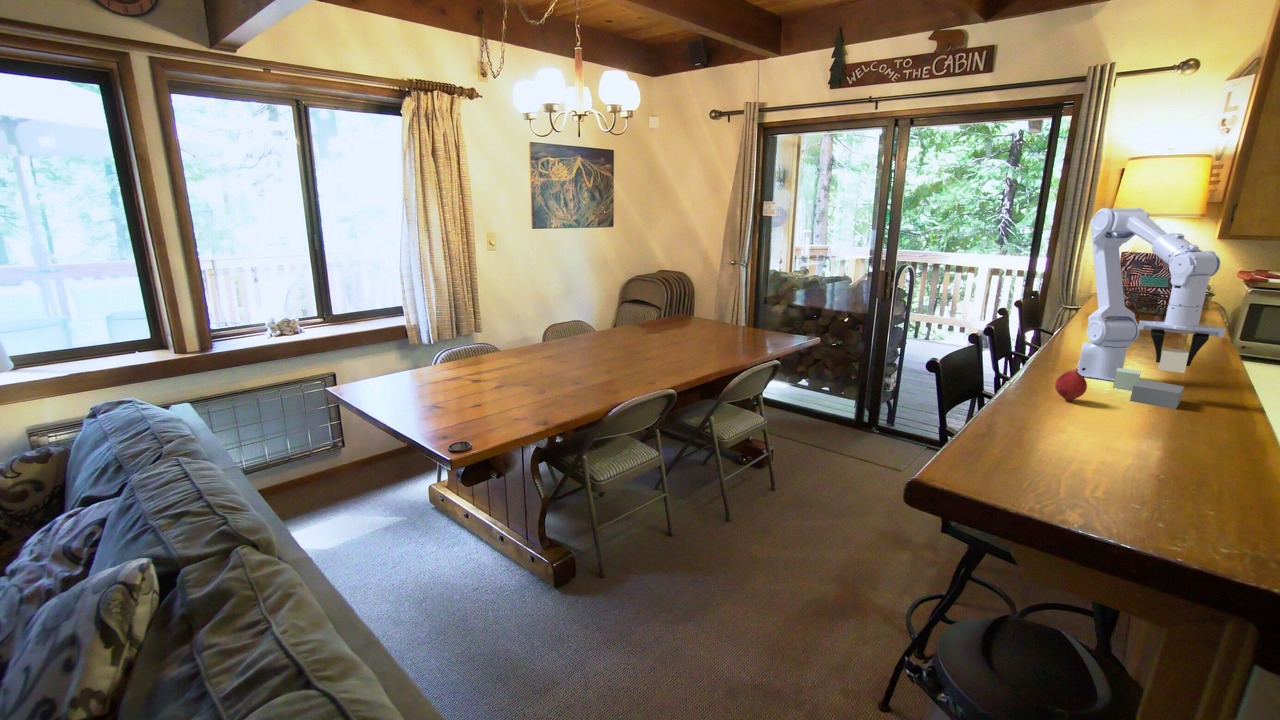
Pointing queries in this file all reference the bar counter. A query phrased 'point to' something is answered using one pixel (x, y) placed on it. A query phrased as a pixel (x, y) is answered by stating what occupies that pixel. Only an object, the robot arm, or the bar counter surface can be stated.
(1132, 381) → the sage block
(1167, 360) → the cream block
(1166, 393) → the base block
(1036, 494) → the bar counter surface
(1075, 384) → the onion
